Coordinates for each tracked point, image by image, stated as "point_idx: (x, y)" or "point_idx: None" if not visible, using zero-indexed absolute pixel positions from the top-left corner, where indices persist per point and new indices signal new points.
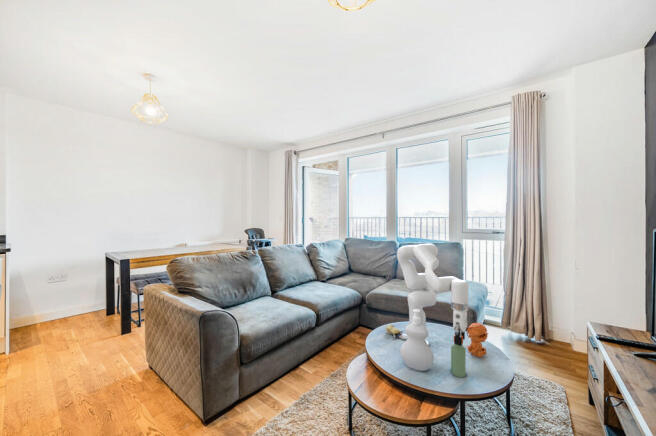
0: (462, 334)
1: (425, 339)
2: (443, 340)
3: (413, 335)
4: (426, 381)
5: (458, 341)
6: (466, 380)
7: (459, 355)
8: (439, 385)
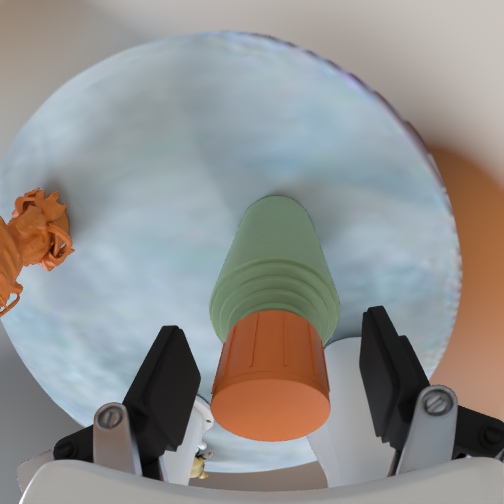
0: (169, 386)
1: (372, 461)
2: (75, 348)
3: None
4: (424, 305)
5: (412, 361)
6: (316, 177)
7: (327, 267)
8: (427, 261)
